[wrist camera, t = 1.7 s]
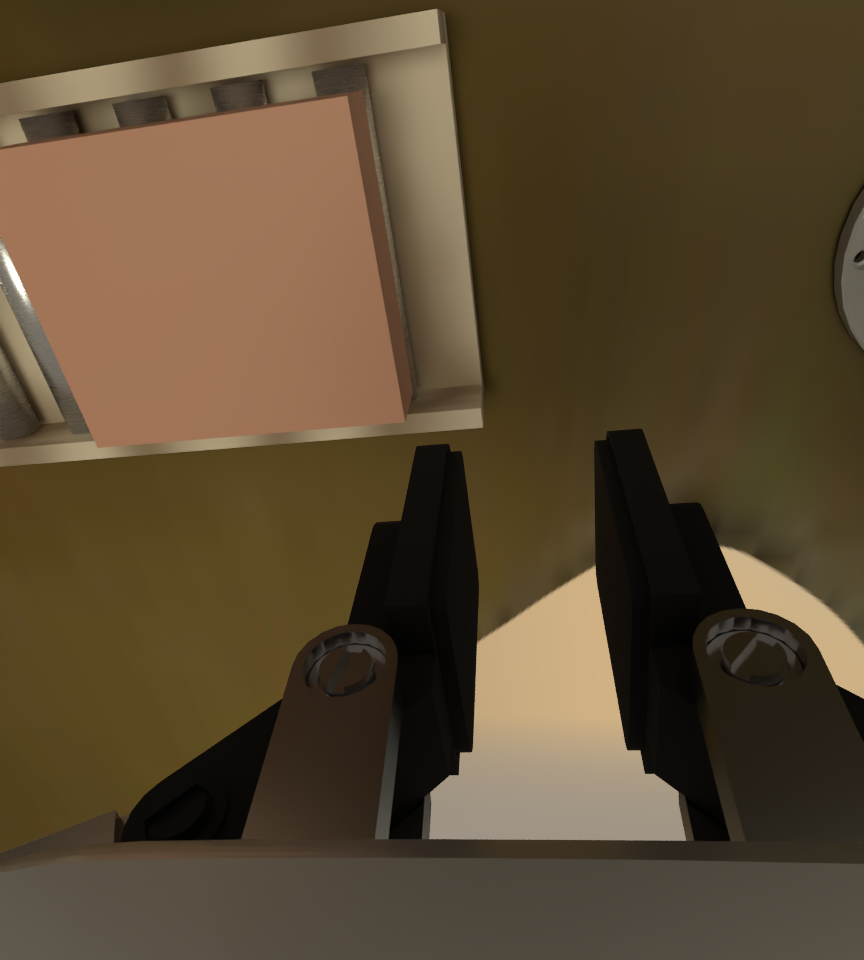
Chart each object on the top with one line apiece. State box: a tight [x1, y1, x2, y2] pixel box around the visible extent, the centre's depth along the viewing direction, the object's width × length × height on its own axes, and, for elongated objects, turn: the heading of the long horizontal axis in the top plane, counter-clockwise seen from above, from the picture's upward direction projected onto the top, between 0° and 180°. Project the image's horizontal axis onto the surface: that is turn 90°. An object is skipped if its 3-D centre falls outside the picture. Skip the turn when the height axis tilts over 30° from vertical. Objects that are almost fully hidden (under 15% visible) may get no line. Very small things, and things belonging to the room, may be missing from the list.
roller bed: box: [0, 9, 485, 467], centre depth 31 cm, size 32×16×4 cm, turn 98°
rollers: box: [0, 63, 418, 440], centre depth 31 cm, size 26×14×2 cm, turn 98°
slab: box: [0, 90, 413, 448], centre depth 28 cm, size 14×12×3 cm
